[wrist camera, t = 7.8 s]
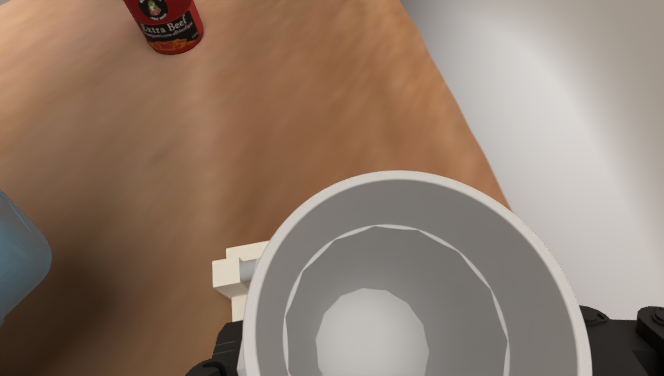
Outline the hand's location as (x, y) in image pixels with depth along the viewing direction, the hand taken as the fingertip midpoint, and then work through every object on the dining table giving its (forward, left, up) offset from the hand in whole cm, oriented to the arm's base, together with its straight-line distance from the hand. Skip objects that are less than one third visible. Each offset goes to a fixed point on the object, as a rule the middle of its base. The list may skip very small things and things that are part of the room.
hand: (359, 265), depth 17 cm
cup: (+2, -3, -4) cm, 6 cm away
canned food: (-34, +27, -15) cm, 46 cm away
